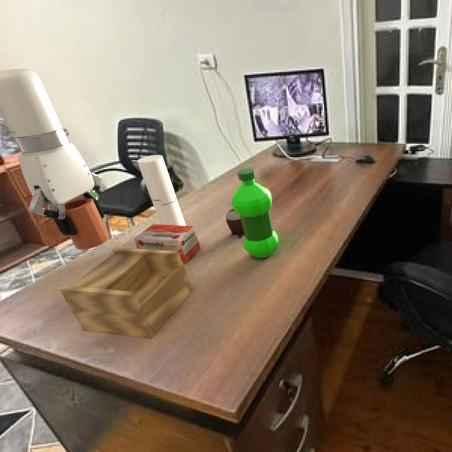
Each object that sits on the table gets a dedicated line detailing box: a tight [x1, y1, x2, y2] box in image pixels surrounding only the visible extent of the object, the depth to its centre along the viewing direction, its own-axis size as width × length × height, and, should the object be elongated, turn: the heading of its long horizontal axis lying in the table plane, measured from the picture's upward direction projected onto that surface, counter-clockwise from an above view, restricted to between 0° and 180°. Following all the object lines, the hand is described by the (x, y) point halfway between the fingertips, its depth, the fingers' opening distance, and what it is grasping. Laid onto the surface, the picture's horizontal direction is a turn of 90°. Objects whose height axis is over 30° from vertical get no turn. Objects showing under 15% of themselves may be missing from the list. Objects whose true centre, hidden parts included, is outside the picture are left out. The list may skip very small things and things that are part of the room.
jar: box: [56, 197, 111, 251], centre depth 73 cm, size 6×6×9 cm
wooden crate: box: [58, 247, 193, 339], centre depth 81 cm, size 18×16×12 cm
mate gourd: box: [225, 208, 244, 239], centre depth 109 cm, size 8×8×15 cm
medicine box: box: [133, 223, 201, 264], centre depth 103 cm, size 15×8×8 cm, turn 76°
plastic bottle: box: [231, 168, 279, 259], centre depth 95 cm, size 10×10×25 cm
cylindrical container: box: [136, 154, 187, 226], centre depth 113 cm, size 7×7×25 cm
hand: (84, 225), depth 74 cm, fingers closed on jar, 6 cm apart
